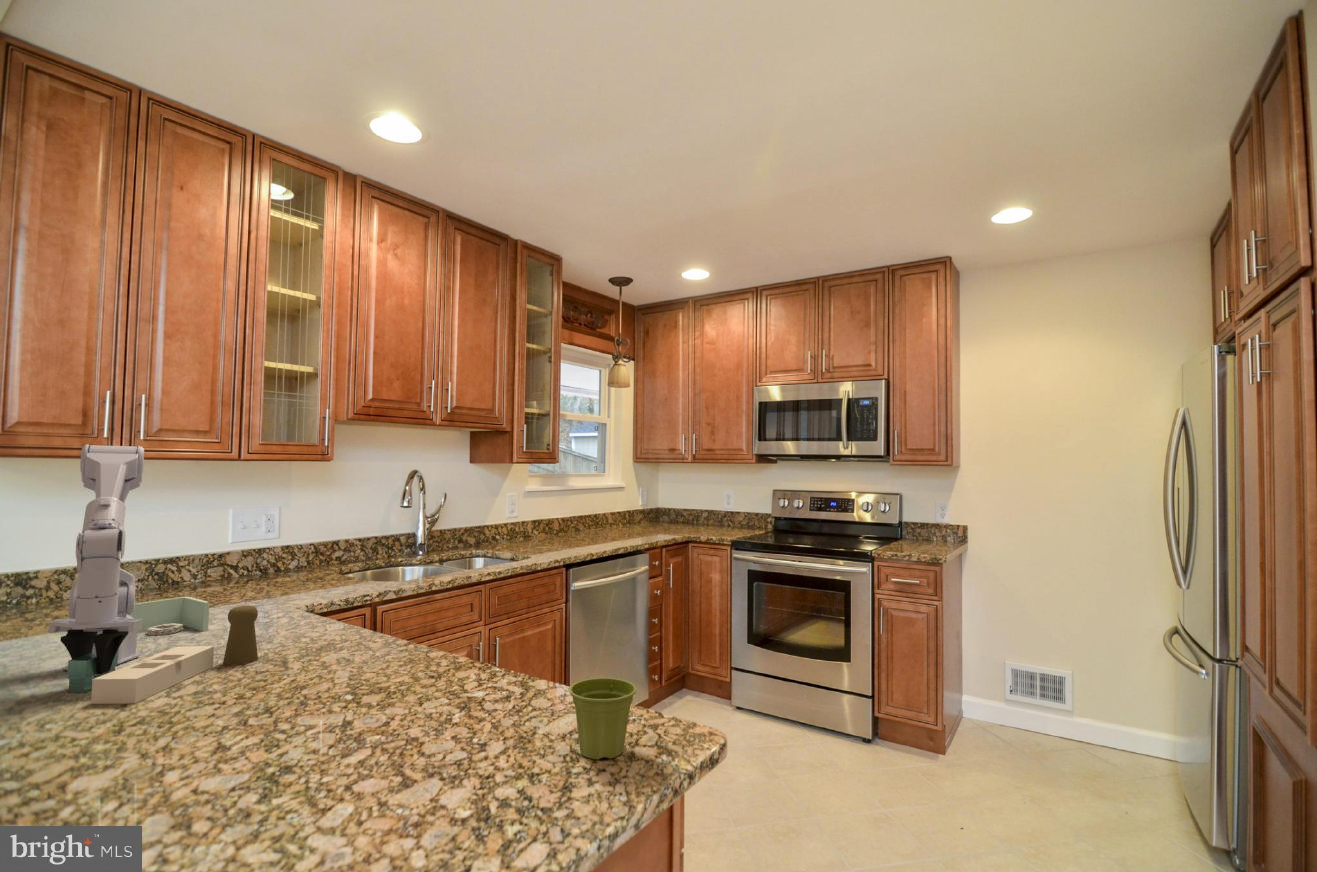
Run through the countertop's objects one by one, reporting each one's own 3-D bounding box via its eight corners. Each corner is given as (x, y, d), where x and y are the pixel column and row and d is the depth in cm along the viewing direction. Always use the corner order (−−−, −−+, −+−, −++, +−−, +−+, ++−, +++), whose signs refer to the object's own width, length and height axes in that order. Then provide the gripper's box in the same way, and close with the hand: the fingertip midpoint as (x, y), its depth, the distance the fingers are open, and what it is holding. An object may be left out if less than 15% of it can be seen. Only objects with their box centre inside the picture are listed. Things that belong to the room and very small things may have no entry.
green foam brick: (99, 679, 116) (101, 649, 117) (116, 679, 116) (118, 649, 117) (66, 693, 109) (68, 660, 110) (84, 692, 110) (86, 660, 110)
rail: (176, 667, 124) (177, 646, 125) (212, 666, 125) (213, 646, 125) (91, 703, 104) (92, 679, 105) (135, 703, 105) (136, 678, 105)
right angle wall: (126, 636, 149) (128, 604, 150) (185, 626, 160) (187, 596, 160) (148, 644, 143) (149, 610, 143) (207, 633, 153) (209, 601, 154)
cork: (240, 666, 125) (243, 610, 126) (215, 664, 126) (218, 608, 127) (265, 657, 131) (267, 604, 132) (240, 655, 132) (243, 602, 133)
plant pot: (594, 732, 95) (595, 673, 95) (648, 746, 90) (648, 684, 91) (554, 755, 87) (555, 691, 87) (610, 772, 82) (611, 704, 83)
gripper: (35, 600, 109) (29, 680, 109) (122, 599, 110) (117, 679, 109) (70, 592, 117) (65, 667, 116) (152, 592, 117) (147, 666, 117)
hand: (92, 672), depth 113 cm, fingers closed on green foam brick, 3 cm apart
